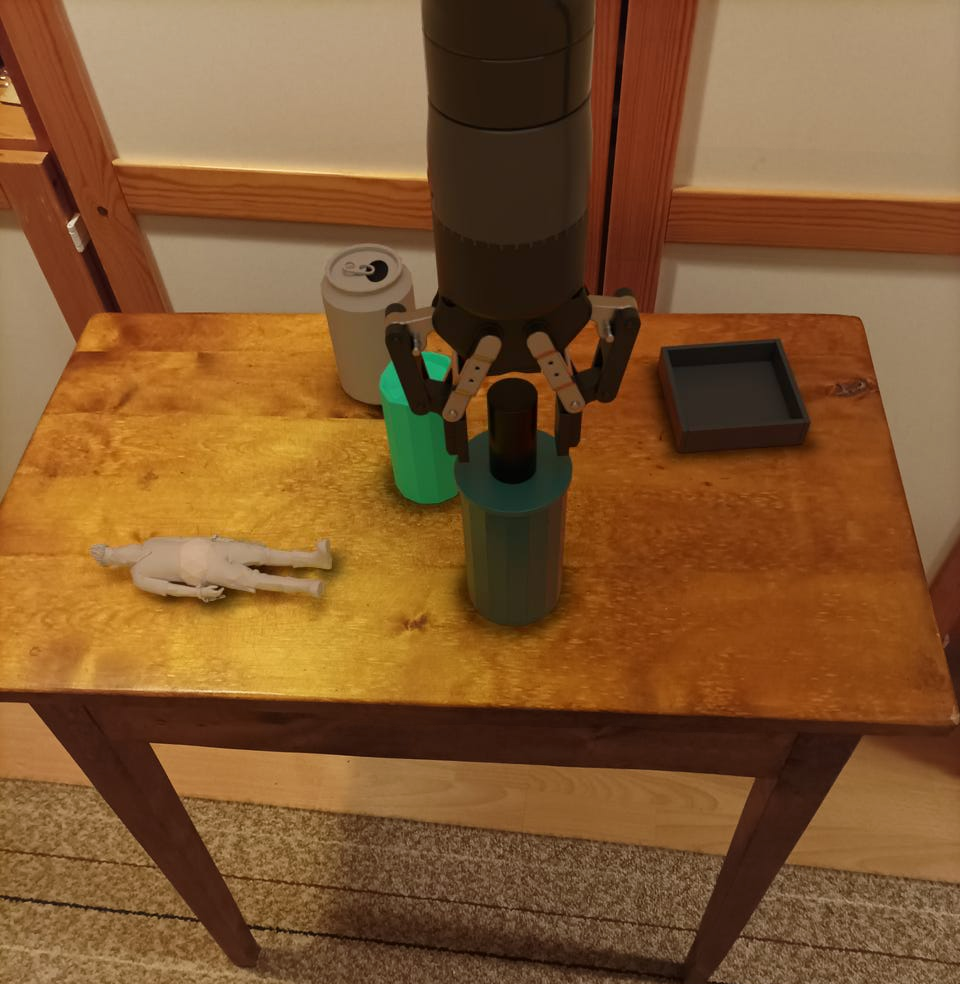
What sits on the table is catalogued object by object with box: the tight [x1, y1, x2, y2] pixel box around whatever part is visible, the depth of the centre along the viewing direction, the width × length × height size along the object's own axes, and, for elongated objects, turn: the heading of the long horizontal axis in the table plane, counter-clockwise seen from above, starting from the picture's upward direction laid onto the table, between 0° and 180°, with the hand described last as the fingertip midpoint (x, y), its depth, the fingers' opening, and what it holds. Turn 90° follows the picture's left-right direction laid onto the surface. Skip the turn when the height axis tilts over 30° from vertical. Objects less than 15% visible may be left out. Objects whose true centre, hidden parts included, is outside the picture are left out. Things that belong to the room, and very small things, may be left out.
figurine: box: [88, 534, 333, 603], centre depth 69 cm, size 7×4×18 cm
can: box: [320, 242, 417, 406], centre depth 77 cm, size 8×8×12 cm
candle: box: [379, 351, 460, 505], centre depth 70 cm, size 6×6×12 cm
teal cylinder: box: [459, 489, 569, 627], centre depth 64 cm, size 7×7×12 cm
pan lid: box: [454, 377, 574, 517], centre depth 56 cm, size 8×8×7 cm
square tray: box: [657, 337, 812, 454], centre depth 78 cm, size 10×10×2 cm
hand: (512, 449), depth 57 cm, fingers open, 5 cm apart
